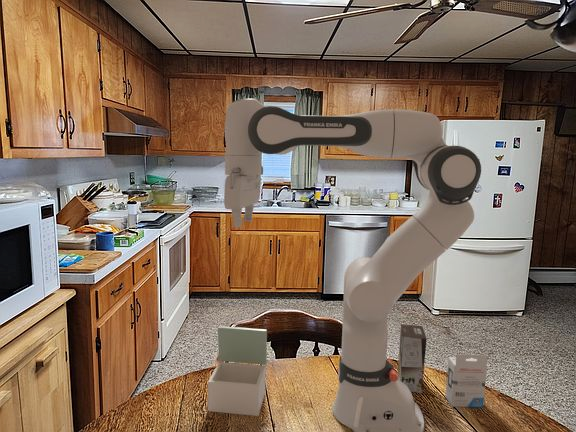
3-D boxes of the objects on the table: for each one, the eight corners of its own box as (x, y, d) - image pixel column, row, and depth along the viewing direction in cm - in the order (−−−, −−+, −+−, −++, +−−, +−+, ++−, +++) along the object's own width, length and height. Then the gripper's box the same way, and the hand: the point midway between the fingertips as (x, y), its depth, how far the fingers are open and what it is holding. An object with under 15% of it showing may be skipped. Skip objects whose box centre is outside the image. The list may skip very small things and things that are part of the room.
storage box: (265, 392, 110) (265, 365, 109) (258, 416, 100) (258, 386, 99) (219, 388, 111) (219, 361, 110) (208, 411, 102) (207, 381, 100)
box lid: (266, 364, 109) (266, 362, 110) (266, 331, 106) (266, 329, 107) (218, 360, 110) (219, 358, 111) (217, 327, 108) (218, 325, 109)
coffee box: (423, 393, 111) (427, 338, 109) (399, 390, 113) (402, 336, 110) (419, 376, 120) (423, 325, 118) (397, 373, 121) (400, 323, 119)
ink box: (475, 396, 110) (480, 346, 108) (483, 407, 106) (489, 355, 103) (444, 395, 110) (448, 345, 108) (451, 407, 106) (456, 354, 103)
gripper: (244, 168, 87) (244, 231, 88) (264, 168, 107) (264, 219, 109) (216, 167, 88) (217, 230, 89) (241, 167, 108) (241, 218, 109)
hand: (243, 224), depth 99 cm, fingers open, 8 cm apart
